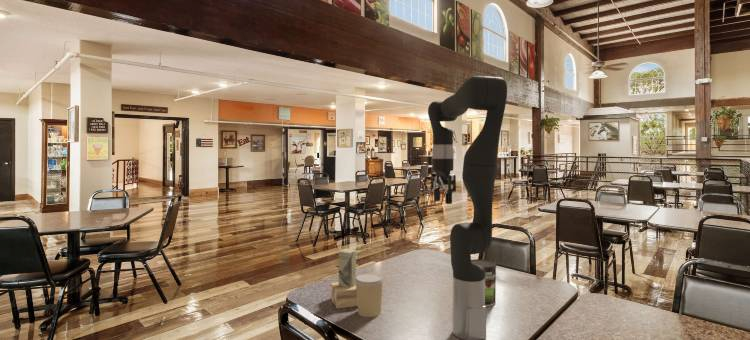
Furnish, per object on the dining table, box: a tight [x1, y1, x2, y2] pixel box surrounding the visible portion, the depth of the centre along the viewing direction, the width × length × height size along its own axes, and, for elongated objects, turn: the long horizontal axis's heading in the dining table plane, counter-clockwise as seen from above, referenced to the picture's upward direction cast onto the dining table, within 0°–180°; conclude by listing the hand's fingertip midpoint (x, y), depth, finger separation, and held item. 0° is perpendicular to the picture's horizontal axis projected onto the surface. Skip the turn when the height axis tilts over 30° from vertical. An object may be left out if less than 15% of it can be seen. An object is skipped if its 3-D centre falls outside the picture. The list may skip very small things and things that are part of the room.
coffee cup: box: [355, 273, 384, 318], centre depth 128 cm, size 9×9×12 cm
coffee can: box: [471, 259, 497, 308], centre depth 137 cm, size 10×10×14 cm
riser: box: [330, 281, 358, 310], centre depth 138 cm, size 10×10×6 cm
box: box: [338, 248, 357, 288], centre depth 137 cm, size 5×4×13 cm
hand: (442, 202), depth 137 cm, fingers open, 8 cm apart
